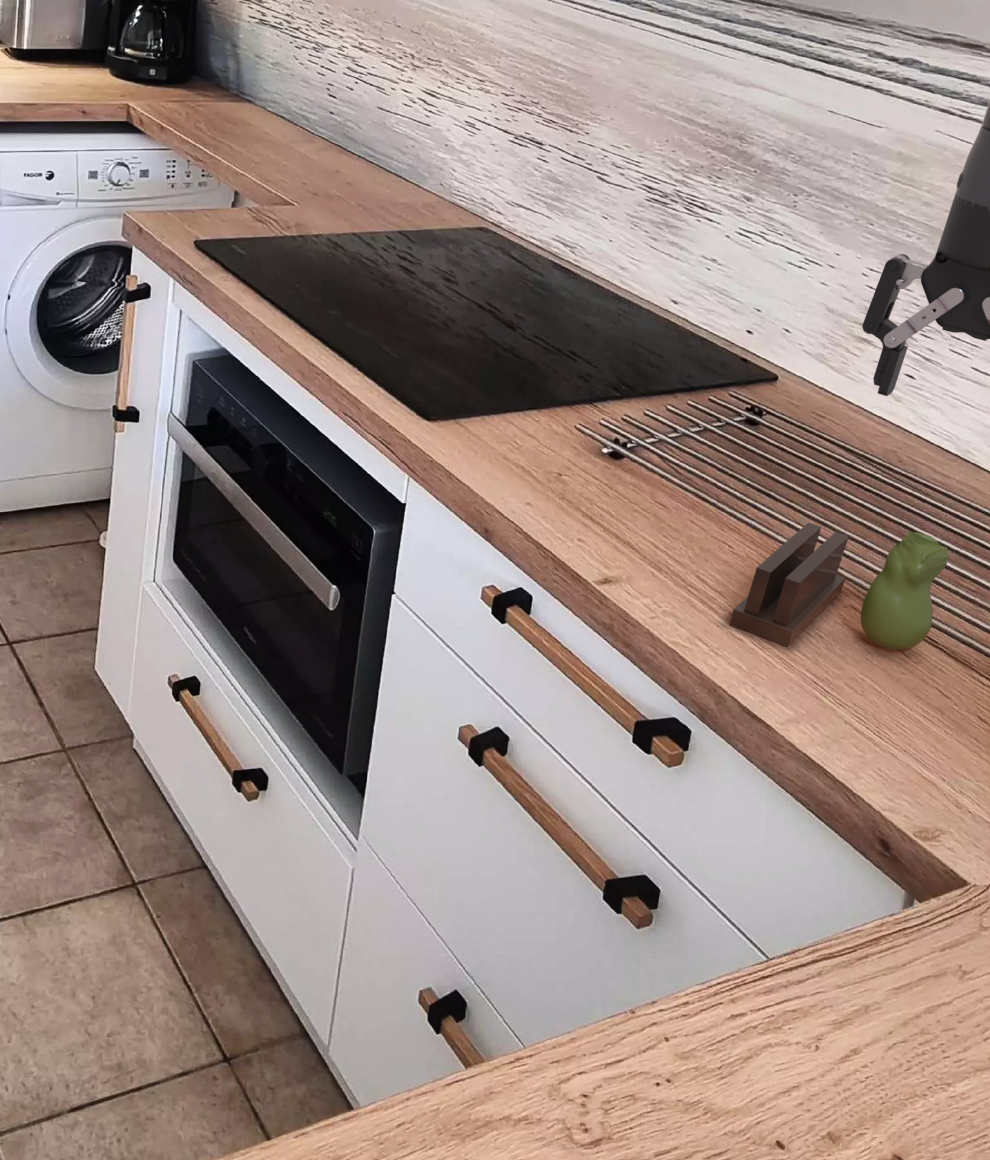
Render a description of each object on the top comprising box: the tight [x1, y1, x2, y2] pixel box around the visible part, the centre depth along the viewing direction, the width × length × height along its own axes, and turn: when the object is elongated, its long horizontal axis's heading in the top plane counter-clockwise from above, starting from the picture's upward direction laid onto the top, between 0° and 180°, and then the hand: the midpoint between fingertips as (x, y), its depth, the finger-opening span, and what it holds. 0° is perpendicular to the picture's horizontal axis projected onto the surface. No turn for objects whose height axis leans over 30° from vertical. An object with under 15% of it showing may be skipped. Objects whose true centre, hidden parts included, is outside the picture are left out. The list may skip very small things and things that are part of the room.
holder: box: [728, 522, 849, 648], centre depth 129 cm, size 5×14×6 cm, turn 143°
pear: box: [860, 530, 950, 651], centre depth 124 cm, size 6×5×10 cm
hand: (940, 408), depth 117 cm, fingers open, 8 cm apart
